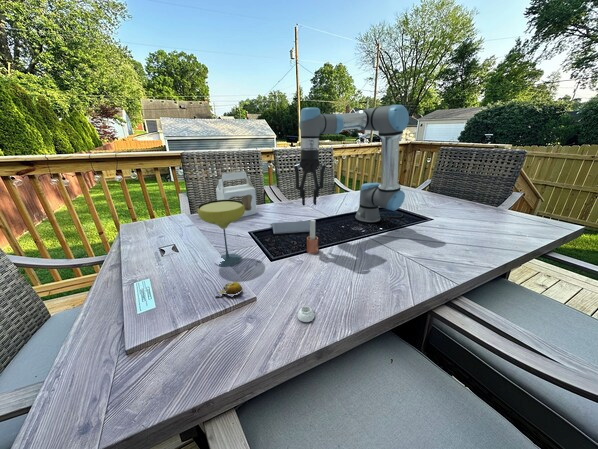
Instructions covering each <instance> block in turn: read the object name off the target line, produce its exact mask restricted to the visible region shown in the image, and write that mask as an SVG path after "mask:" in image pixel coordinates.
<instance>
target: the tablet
mask: <svg viewBox="0 0 598 449" xmlns="http://www.w3.org/2000/svg"><path fill="white" fill-rule="evenodd" d="M271 227H272V233H273V234H272V235H273V236H285V235H299V234H310V220H298V221H297V220H296V221H282V222H281V221H279V222H271Z"/></svg>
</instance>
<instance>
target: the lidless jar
mask: <svg viewBox="0 0 598 449" xmlns="http://www.w3.org/2000/svg"><path fill="white" fill-rule="evenodd" d="M297 319H298V320H299V321H300V322H303V323H309V322H312V321H313V320H314V319H315V313H314V311H313V309H312V308H311V307H310V306H308V305H303V306H302V307H301V308H300V309H299V310H298V312H297Z"/></svg>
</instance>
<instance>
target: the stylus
mask: <svg viewBox="0 0 598 449" xmlns="http://www.w3.org/2000/svg"><path fill="white" fill-rule="evenodd" d="M309 221H310V233H309V236H310V240H315V236H316V219H310V220H309Z"/></svg>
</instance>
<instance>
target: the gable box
mask: <svg viewBox="0 0 598 449" xmlns="http://www.w3.org/2000/svg"><path fill="white" fill-rule="evenodd" d="M220 177H221V178H219V179H217V186H216V189H215V194H216V200H231V198H234V197H242V201H241V202H243V204H244V207H245V212H244V214H243V215H242V216H241V217H240V218H243V217H247V216H252V215H257V214H258V208H257V194H256V188H255V185H254V184H253V182H252V180H251V175H247V172H246V171H237V172H236V171H235V172H226V173H222V174H221V175H220ZM236 180H245V183H243V184H237V185H230V186H224V182H229V181H236Z"/></svg>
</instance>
